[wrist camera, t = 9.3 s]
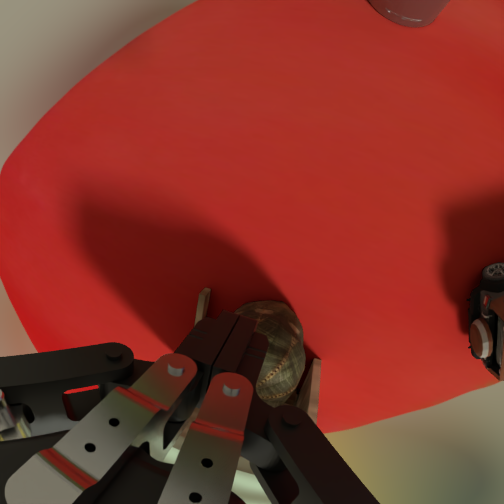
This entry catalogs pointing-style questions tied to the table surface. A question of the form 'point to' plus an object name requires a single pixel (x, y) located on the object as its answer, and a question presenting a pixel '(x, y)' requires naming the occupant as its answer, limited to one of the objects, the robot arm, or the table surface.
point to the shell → (277, 349)
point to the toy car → (488, 320)
